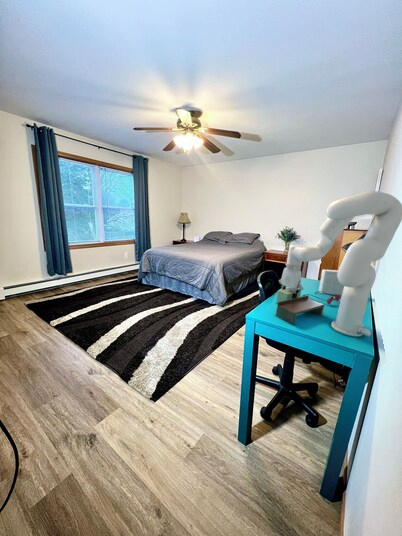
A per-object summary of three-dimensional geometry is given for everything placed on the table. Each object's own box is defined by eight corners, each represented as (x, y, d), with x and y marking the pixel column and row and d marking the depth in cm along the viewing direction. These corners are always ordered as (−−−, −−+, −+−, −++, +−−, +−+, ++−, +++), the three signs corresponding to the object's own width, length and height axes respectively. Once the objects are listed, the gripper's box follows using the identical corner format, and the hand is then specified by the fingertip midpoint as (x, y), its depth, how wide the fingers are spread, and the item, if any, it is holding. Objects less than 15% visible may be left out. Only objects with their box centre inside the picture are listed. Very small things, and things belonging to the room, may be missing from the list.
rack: (322, 315, 114) (325, 301, 112) (292, 324, 102) (295, 309, 100) (305, 307, 122) (307, 295, 120) (275, 315, 110) (277, 301, 108)
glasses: (327, 306, 126) (329, 298, 125) (302, 296, 140) (303, 288, 138) (340, 302, 133) (342, 294, 132) (315, 293, 147) (316, 286, 145)
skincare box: (349, 293, 150) (354, 271, 146) (353, 296, 144) (359, 273, 140) (317, 290, 151) (322, 268, 147) (321, 293, 146) (325, 271, 142)
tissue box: (298, 304, 126) (301, 289, 124) (285, 307, 120) (287, 292, 118) (289, 300, 132) (291, 285, 129) (275, 303, 126) (278, 288, 124)
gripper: (276, 264, 126) (272, 292, 130) (303, 271, 112) (297, 303, 116) (285, 263, 130) (280, 291, 134) (311, 270, 115) (306, 301, 120)
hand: (288, 296), depth 125 cm, fingers closed on tissue box, 6 cm apart
